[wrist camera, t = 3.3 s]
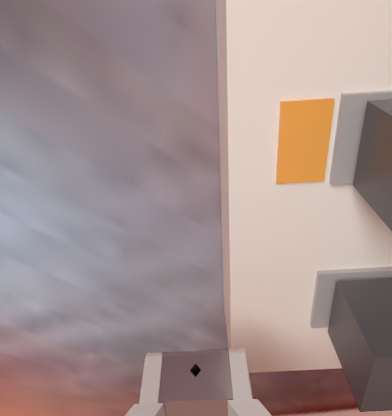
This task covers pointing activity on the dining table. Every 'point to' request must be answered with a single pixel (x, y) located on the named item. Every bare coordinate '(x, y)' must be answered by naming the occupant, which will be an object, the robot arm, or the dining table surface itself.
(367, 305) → the switch tab
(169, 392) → the robot arm
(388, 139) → the switch tab
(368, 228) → the switch panel
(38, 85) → the dining table surface
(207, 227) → the dining table surface
